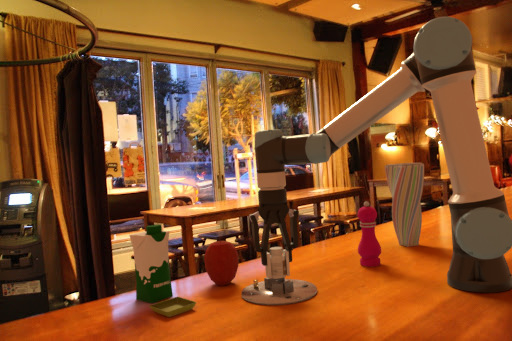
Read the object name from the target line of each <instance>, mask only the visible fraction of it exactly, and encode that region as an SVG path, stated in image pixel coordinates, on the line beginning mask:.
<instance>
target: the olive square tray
mask: <svg viewBox="0 0 512 341" xmlns="http://www.w3.org/2000/svg"><path fill="white" fill-rule="evenodd" d="M196 304H197V301H194V300H191V299H188V298H184V297H182V296H175V297H172V298H171V297H170V298H169V299H168V298H167V299H166V300H165V299H164V300H161V301H158V302H155V303H153V304H152V303H151V304H149V305H148V307H149V308H150V309H151V310H152V311H153V312H154V313H156V312H157V313H156V314H159V315H162V316H165V317H168V318H171V317H175V316H178V315H180V314H183V313H186V312H189V311H191V310H193V308H194V307H195V306H196Z"/></svg>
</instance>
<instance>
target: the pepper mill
mask: <svg viewBox="0 0 512 341" xmlns="http://www.w3.org/2000/svg"><path fill="white" fill-rule="evenodd" d="M377 218H378V212H377V209H376V208H374V206H370V202H369V201H364V202H363V206H362V207H360V208H358V210H357V219H359V227H361V238H360V241H359V244H358V247H357V253H358V255H359V256H360V257H361V258H359V264H360V265H361V266H362V267H369V268H370V267H378V266H381V264H382V263H381V258H380V257H379V256H381V254H382V246H381V244H380V243H379V240H378V239H377V236H376V229H375V228H376V227H377V221H376V219H377Z"/></svg>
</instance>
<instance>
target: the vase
mask: <svg viewBox="0 0 512 341" xmlns="http://www.w3.org/2000/svg"><path fill="white" fill-rule="evenodd" d="M384 172H385V177H386V182H387V185H388V189H389V193H390V194H391V198H392V200H391V202H392V204H391V218H392V224H393V228H394V231H395V232H394V233H395V235H396V239H397V242H398V246H403V247H413V246H419V244H420V237H421V233H422V223H423V214H422V211H423V210H422V204H421V199H422V196H423V195H422V194H423V191H424V190H423V189H424V182H425V180H424V179H425V178H424V177H425V164H424V163H422V162H405V163H393V164H392V163H390V164H386V165H385V166H384Z"/></svg>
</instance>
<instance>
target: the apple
mask: <svg viewBox="0 0 512 341" xmlns="http://www.w3.org/2000/svg"><path fill="white" fill-rule="evenodd" d="M203 260H204V266H205V267H204V269H205V271H206V273H207V275H208V277H209V279H210V281H212V283H214V284H215V285H217V286H219V287H224V286H227V285H229V284H230V283H232V281H233V280H234V279H235V278H236V275H237V271H238V269H239V253H238V251H237V248H236V247H235V245H234V244H233V243H232V242H230V241H226V240H221V237H220V236H219V240H216V241H214V242H211V243H210V244H209V245H208V247H207V248H206V249H205V254H204V258H203Z"/></svg>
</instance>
